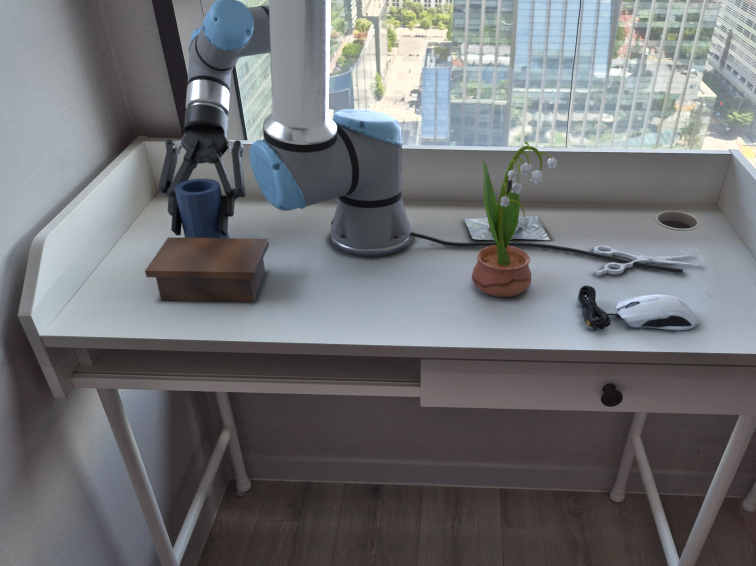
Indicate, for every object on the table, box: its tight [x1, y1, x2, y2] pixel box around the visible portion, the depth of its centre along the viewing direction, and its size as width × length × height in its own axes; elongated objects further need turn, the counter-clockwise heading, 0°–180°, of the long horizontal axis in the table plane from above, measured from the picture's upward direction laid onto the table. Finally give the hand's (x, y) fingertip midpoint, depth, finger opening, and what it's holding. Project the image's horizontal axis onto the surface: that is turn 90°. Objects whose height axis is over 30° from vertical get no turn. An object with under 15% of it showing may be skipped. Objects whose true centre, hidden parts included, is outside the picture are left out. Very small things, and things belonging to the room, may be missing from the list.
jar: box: [175, 178, 230, 238], centre depth 125 cm, size 8×8×11 cm
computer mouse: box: [577, 284, 699, 331], centre depth 108 cm, size 10×18×4 cm, turn 88°
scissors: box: [593, 245, 700, 277], centre depth 125 cm, size 11×1×20 cm
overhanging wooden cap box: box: [144, 236, 270, 303], centre depth 114 cm, size 17×12×6 cm
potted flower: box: [471, 140, 559, 298], centre depth 110 cm, size 12×10×25 cm
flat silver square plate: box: [463, 179, 551, 241], centre depth 131 cm, size 15×10×13 cm
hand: (199, 232), depth 123 cm, fingers closed on jar, 8 cm apart
